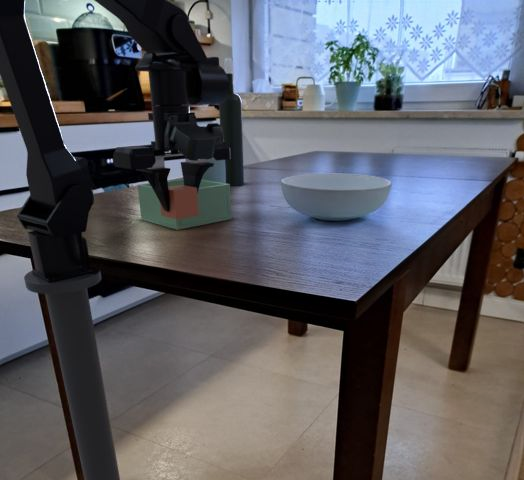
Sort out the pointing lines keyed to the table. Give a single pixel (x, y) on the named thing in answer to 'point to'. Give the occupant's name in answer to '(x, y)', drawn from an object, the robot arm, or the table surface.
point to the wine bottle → (232, 130)
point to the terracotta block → (181, 202)
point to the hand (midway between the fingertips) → (179, 209)
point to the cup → (216, 171)
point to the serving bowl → (335, 195)
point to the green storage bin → (209, 205)
